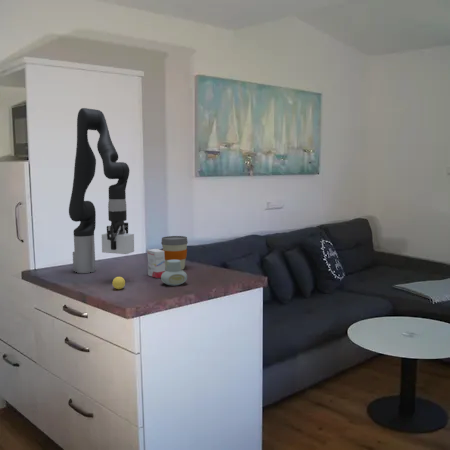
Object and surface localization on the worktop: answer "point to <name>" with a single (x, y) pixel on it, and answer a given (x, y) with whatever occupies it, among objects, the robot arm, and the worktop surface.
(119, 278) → the ball
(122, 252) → the white rectangular block
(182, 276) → the air freshener
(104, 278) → the worktop surface
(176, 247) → the reusable coffee cup
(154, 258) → the ink box
